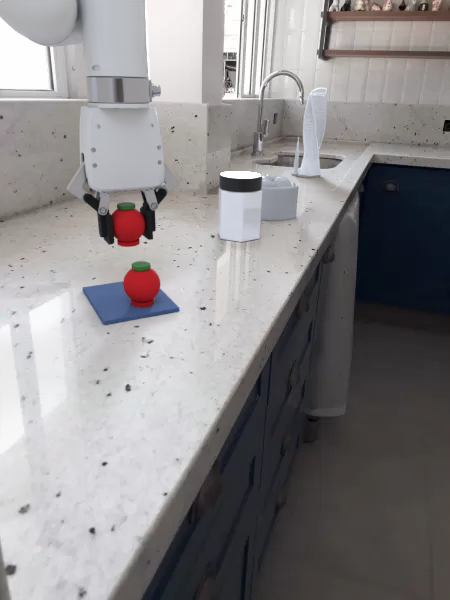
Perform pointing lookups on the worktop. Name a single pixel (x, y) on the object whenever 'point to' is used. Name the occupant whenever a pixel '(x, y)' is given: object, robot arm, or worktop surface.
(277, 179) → the lumpy-topped squat cylinder
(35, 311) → the worktop surface
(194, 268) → the worktop surface
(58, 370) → the worktop surface
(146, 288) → the red round lidded pot
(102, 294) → the cloth
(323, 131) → the skyscraper
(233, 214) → the jar
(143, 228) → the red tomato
